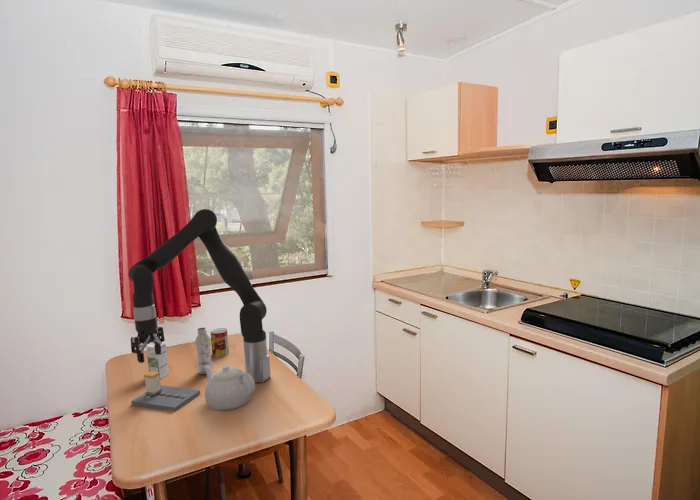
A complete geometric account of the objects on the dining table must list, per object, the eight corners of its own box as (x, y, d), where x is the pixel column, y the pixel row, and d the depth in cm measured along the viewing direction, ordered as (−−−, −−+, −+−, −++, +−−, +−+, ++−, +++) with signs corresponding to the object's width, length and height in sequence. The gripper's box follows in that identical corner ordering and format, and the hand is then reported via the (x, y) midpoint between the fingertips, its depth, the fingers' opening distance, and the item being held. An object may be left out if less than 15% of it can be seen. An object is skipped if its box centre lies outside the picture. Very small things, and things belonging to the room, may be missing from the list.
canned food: (212, 352, 212) (210, 329, 210) (228, 350, 214) (226, 327, 212) (212, 358, 204) (210, 334, 203) (229, 355, 206) (227, 331, 205)
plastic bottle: (203, 377, 182) (199, 332, 180) (194, 373, 187) (190, 329, 184) (216, 371, 188) (213, 328, 185) (207, 368, 192) (203, 325, 189)
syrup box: (169, 373, 187) (166, 342, 185) (160, 379, 182) (156, 347, 180) (158, 372, 189) (155, 341, 187) (148, 378, 183) (145, 346, 181)
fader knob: (162, 390, 166) (160, 371, 165) (154, 395, 162) (152, 376, 161) (153, 389, 168) (151, 370, 167) (144, 394, 163) (142, 375, 162)
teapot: (202, 417, 149) (199, 380, 147) (205, 394, 166) (202, 361, 165) (256, 408, 154) (254, 372, 152) (254, 387, 171) (251, 354, 170)
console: (200, 394, 167) (199, 390, 166) (175, 411, 154) (174, 407, 153) (159, 388, 173) (158, 384, 173) (131, 404, 160) (131, 400, 160)
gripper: (138, 323, 153) (143, 366, 155) (166, 312, 166) (171, 352, 168) (122, 322, 155) (127, 364, 157) (151, 311, 168) (155, 351, 170)
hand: (150, 358), depth 163 cm, fingers open, 8 cm apart
